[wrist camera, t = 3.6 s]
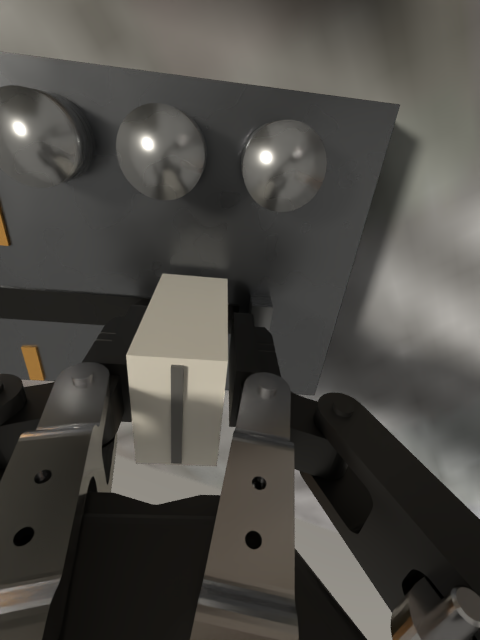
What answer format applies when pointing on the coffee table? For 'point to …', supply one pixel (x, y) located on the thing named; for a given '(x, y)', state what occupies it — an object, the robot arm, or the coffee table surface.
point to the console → (175, 204)
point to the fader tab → (180, 372)
